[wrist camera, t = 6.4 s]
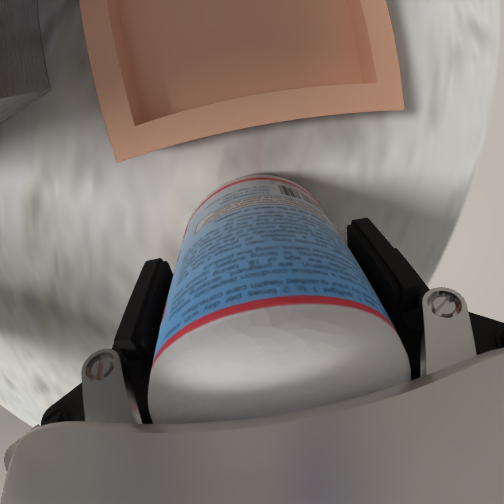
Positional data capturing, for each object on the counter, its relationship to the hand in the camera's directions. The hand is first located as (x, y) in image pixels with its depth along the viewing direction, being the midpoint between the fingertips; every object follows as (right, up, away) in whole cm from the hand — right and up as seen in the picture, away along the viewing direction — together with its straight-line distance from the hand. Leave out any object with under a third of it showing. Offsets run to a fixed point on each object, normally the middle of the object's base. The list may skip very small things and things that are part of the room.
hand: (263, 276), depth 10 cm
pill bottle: (0, +1, +2) cm, 3 cm away
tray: (-1, +10, -3) cm, 10 cm away
